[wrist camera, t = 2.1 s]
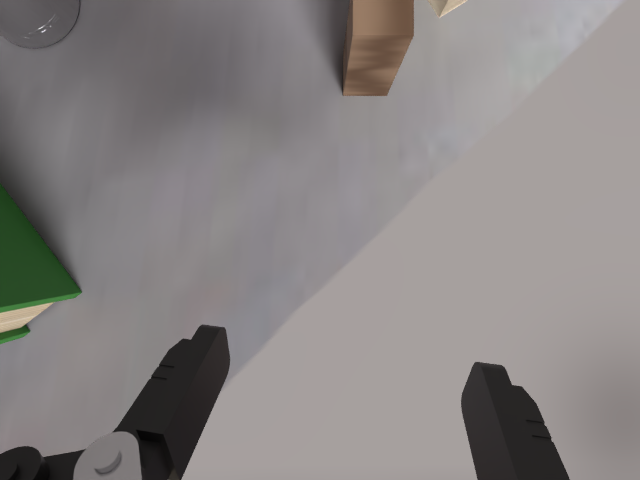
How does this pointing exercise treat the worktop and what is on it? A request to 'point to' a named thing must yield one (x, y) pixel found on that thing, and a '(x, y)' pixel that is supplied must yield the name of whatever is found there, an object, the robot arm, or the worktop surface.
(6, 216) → the green and white box
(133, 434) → the robot arm
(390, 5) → the walnut pillar
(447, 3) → the birch block
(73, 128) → the worktop surface
